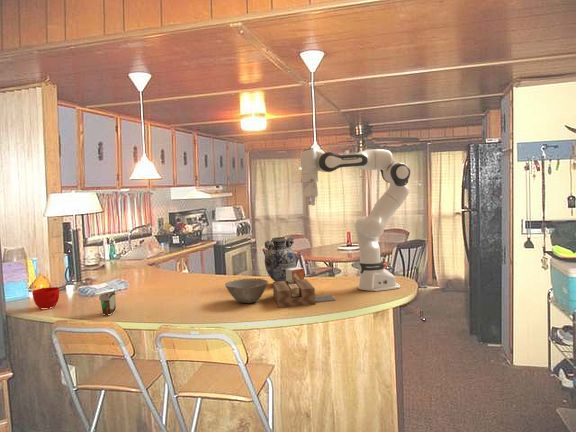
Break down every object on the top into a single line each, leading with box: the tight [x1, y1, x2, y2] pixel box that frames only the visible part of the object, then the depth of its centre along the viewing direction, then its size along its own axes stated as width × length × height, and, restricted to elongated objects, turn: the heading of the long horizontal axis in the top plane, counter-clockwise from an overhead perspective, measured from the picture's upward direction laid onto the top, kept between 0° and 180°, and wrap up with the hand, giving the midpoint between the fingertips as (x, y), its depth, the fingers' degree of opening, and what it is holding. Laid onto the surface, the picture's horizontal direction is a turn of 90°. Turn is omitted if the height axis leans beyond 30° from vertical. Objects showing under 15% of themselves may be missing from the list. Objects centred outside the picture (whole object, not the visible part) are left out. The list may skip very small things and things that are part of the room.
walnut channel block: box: [272, 278, 316, 309], centre depth 252 cm, size 18×24×8 cm
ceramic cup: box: [32, 286, 60, 309], centre depth 265 cm, size 13×17×10 cm
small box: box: [286, 266, 305, 281], centre depth 272 cm, size 8×6×13 cm
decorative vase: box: [264, 236, 297, 282], centre depth 293 cm, size 21×19×28 cm
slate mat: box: [315, 294, 336, 303], centre depth 252 cm, size 10×10×1 cm
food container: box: [98, 290, 117, 315], centre depth 246 cm, size 12×6×10 cm, turn 5°
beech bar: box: [288, 284, 299, 296], centre depth 249 cm, size 4×10×4 cm, turn 7°
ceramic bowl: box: [224, 277, 269, 304], centre depth 255 cm, size 22×23×10 cm
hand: (311, 205), depth 264 cm, fingers open, 8 cm apart
